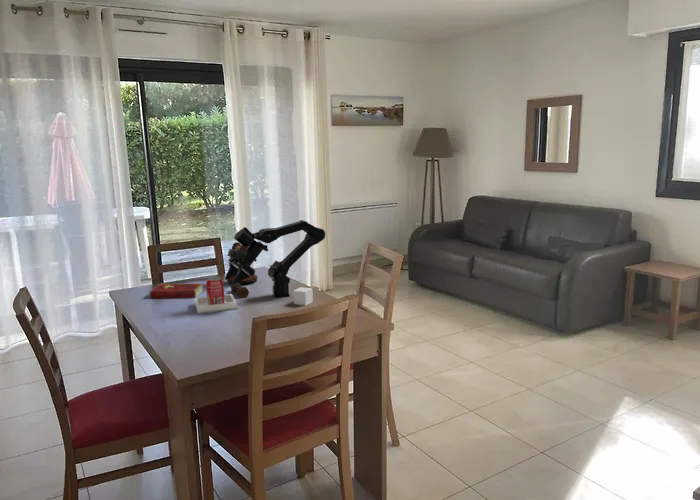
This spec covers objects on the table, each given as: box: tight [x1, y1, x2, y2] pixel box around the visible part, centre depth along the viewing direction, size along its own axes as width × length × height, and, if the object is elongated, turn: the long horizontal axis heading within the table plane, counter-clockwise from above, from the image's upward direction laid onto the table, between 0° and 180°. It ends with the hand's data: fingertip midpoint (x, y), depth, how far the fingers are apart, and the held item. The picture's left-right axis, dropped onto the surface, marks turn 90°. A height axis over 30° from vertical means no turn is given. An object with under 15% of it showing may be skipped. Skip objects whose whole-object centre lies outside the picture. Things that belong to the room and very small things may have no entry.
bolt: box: [230, 283, 250, 299], centre depth 246 cm, size 6×5×15 cm
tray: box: [193, 293, 238, 315], centre depth 227 cm, size 16×14×3 cm
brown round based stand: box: [226, 241, 258, 287], centre depth 266 cm, size 15×15×20 cm
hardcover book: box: [149, 283, 204, 299], centre depth 248 cm, size 12×21×4 cm, turn 89°
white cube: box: [292, 286, 314, 306], centre depth 230 cm, size 6×6×6 cm
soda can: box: [205, 276, 225, 305], centre depth 225 cm, size 7×7×12 cm
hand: (229, 281), depth 229 cm, fingers open, 9 cm apart
